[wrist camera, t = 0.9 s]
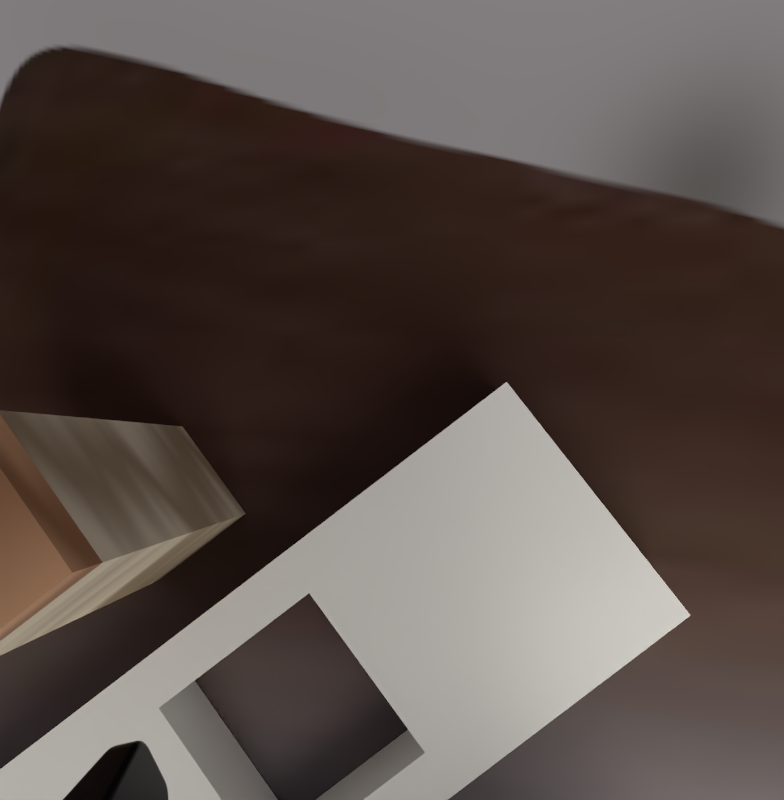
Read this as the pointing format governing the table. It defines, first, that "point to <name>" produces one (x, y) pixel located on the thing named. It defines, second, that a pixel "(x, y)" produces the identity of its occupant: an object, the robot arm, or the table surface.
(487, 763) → the white slotted block
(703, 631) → the table surface
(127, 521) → the wooden peg
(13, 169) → the table surface
